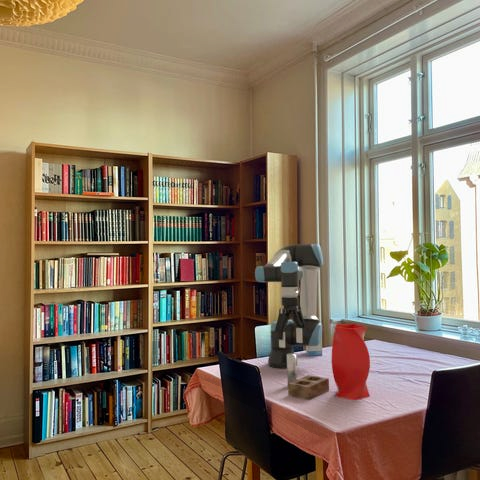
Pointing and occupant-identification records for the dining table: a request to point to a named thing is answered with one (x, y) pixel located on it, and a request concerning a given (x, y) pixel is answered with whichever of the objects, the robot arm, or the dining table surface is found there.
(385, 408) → the dining table surface
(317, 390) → the block
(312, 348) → the ink box
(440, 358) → the dining table surface
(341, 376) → the vase
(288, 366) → the pin
